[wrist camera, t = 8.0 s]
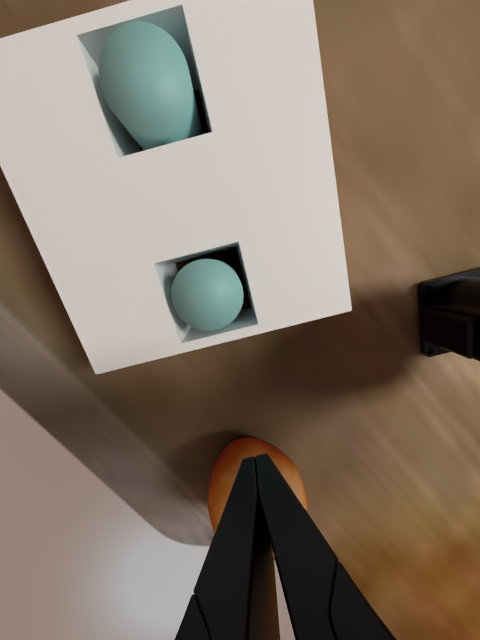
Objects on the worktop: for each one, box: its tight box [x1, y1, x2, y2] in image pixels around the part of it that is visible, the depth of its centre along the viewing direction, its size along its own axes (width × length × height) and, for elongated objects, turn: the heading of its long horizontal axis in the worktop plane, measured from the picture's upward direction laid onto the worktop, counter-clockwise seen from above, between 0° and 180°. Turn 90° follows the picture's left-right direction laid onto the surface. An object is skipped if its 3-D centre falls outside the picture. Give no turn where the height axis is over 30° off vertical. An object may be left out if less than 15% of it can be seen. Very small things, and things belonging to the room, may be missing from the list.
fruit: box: [208, 437, 307, 557], centre depth 20 cm, size 8×8×8 cm
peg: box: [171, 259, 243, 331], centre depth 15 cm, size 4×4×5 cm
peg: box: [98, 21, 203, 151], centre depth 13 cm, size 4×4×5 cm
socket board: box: [0, 0, 352, 374], centre depth 14 cm, size 16×16×5 cm
